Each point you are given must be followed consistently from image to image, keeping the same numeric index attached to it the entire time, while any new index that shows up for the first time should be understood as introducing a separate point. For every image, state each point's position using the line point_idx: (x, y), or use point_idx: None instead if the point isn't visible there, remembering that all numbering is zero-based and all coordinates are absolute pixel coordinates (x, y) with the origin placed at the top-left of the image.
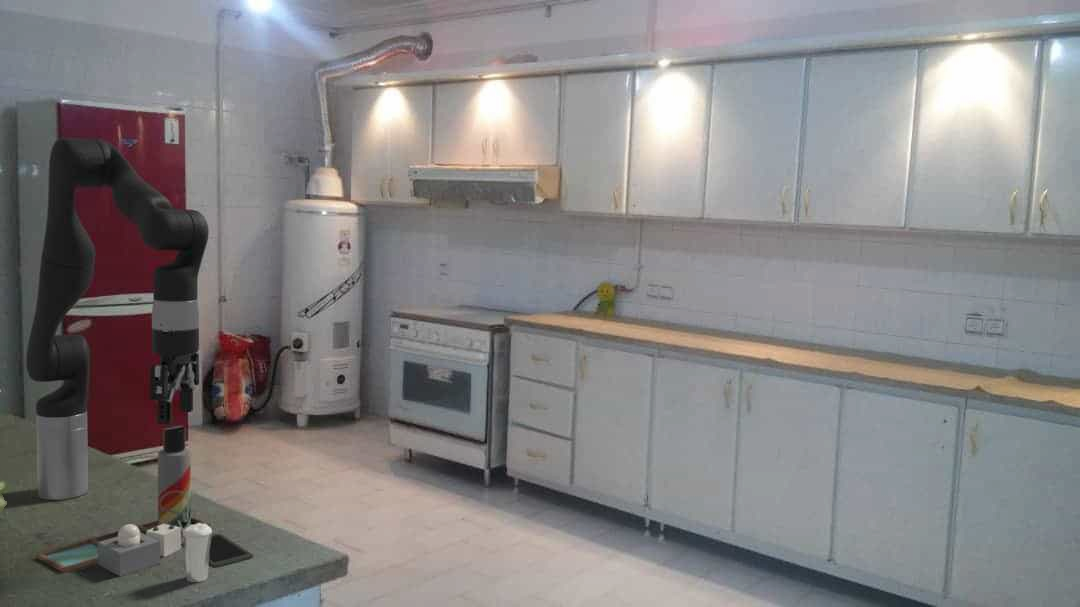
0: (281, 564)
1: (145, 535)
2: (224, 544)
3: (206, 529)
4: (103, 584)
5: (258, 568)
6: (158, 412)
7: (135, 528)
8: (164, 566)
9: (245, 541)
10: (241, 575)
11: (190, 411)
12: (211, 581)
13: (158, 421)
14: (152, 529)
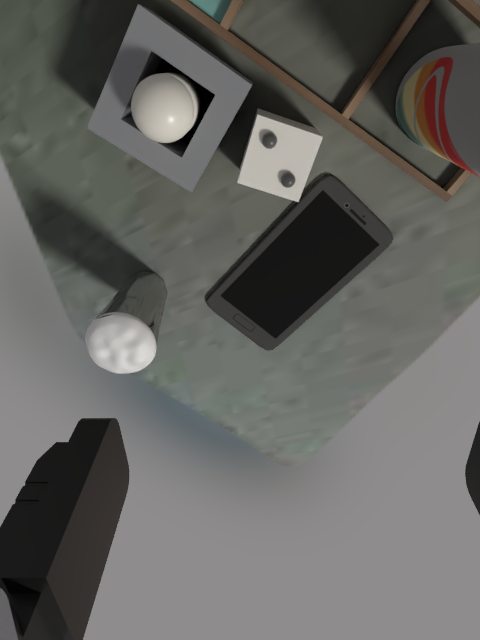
0: (244, 401)
1: (222, 131)
2: (321, 279)
3: (114, 372)
4: (56, 102)
5: (219, 372)
6: (13, 507)
7: (158, 136)
8: (187, 196)
9: (354, 308)
10: (182, 356)
11: (467, 478)
12: None
13: (79, 427)
14: (270, 128)
